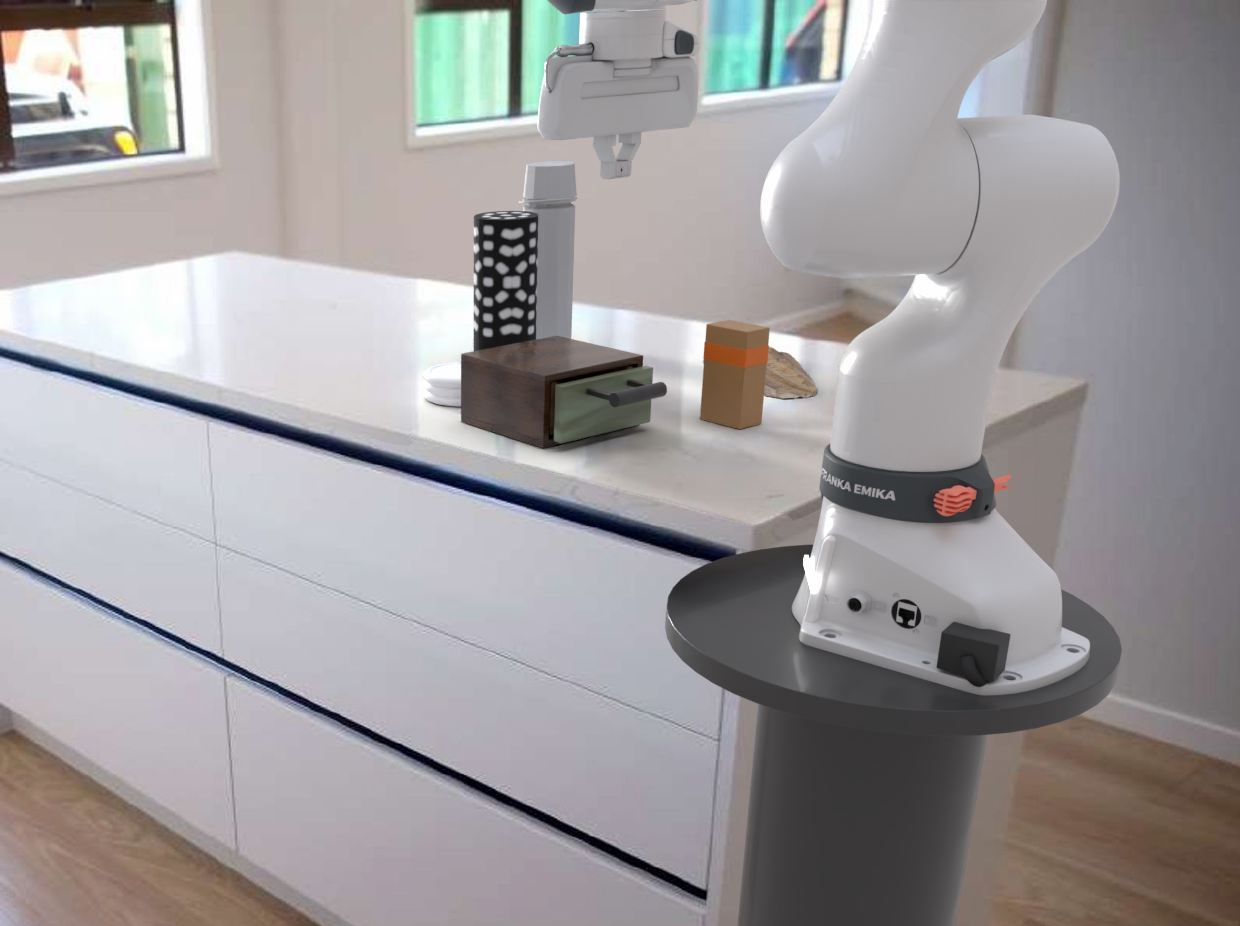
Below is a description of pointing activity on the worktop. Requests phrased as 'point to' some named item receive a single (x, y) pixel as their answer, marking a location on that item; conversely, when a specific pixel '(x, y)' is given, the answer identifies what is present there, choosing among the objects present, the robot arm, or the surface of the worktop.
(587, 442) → the worktop surface
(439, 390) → the white round shallow piece
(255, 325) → the worktop surface
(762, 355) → the block
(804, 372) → the fish fossil
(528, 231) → the white-spotted black cylinder
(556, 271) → the water bottle
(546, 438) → the cabinet
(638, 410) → the drawer
